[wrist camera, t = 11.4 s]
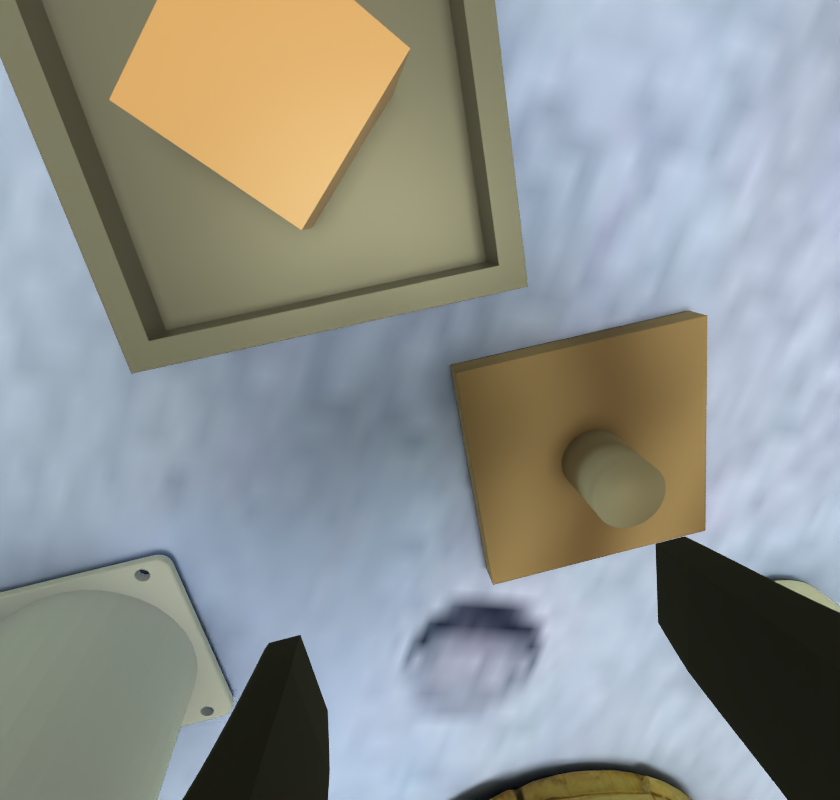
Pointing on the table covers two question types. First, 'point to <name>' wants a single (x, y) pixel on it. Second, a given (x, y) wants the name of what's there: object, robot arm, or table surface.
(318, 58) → the orange cube
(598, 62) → the table surface
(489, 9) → the tray
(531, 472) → the post base
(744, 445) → the table surface
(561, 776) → the tankard
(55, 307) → the table surface
